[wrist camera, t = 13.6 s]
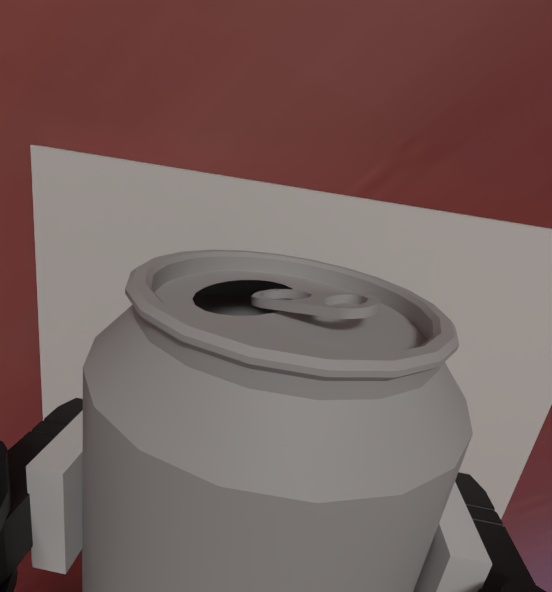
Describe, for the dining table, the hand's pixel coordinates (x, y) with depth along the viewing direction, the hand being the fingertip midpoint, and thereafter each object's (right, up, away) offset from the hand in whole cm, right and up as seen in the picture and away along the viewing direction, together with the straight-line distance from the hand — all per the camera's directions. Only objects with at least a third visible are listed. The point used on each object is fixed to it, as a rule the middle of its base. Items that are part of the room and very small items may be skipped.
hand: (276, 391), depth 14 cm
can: (-2, -8, -2) cm, 8 cm away
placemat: (0, +1, +2) cm, 2 cm away
